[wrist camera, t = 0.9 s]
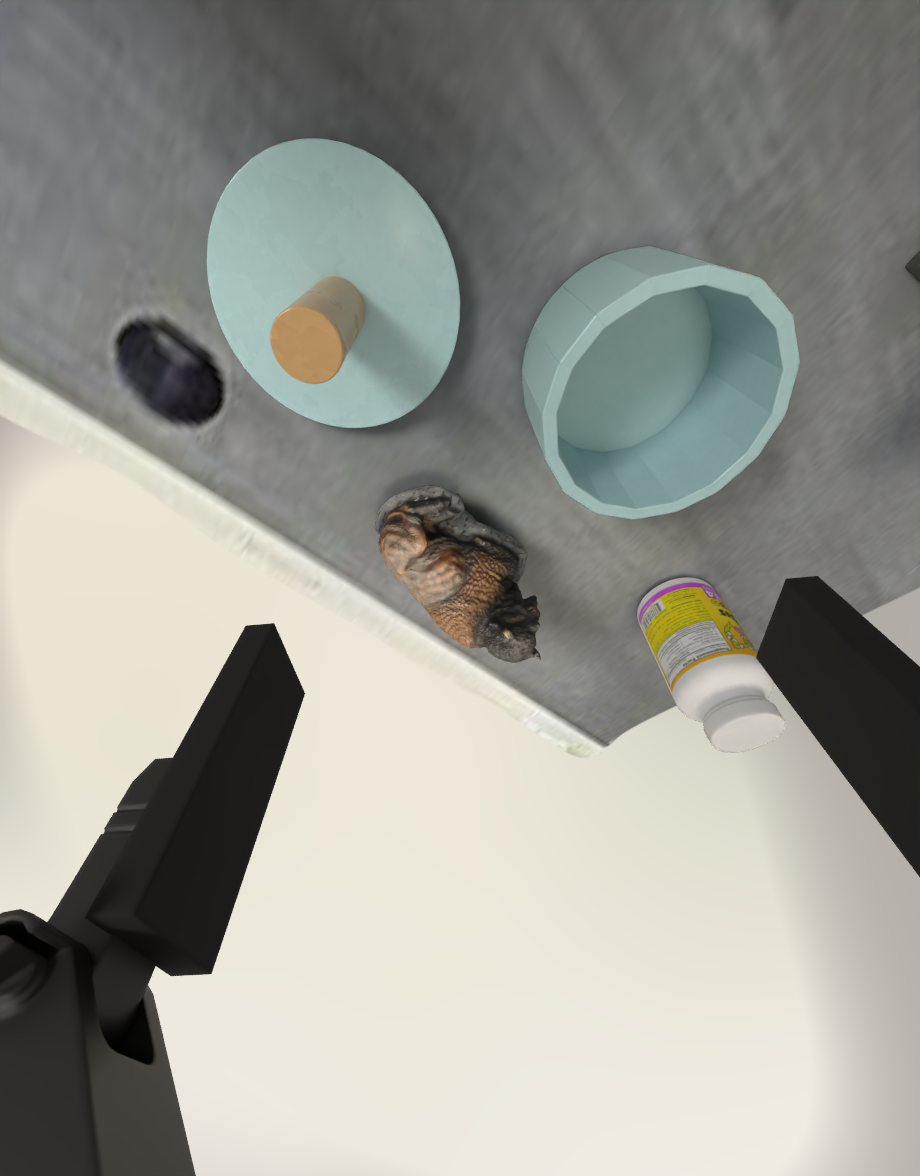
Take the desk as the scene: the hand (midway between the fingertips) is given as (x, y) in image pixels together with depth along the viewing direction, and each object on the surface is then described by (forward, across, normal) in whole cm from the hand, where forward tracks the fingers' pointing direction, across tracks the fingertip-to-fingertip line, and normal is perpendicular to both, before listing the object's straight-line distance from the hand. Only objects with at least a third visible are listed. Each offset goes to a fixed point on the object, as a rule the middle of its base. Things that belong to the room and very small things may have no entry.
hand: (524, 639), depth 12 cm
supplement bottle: (+22, +15, -18) cm, 33 cm away
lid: (+19, -7, +7) cm, 22 cm away
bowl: (+20, +8, +2) cm, 22 cm away
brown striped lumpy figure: (+21, -2, -8) cm, 23 cm away
